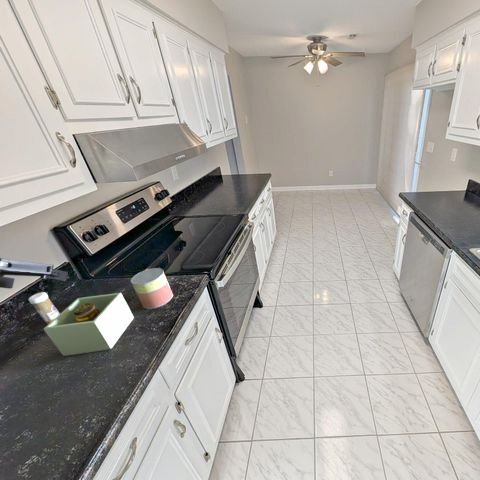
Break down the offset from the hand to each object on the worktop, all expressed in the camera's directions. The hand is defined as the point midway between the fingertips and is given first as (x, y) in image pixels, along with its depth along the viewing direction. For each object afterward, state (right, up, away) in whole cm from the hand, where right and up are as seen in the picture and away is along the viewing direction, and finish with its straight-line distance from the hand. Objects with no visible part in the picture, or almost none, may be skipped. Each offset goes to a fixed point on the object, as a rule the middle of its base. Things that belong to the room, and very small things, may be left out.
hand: (39, 280), depth 71 cm
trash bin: (+1, -22, +19) cm, 29 cm away
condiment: (+1, -21, +19) cm, 29 cm away
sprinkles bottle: (-22, -21, +26) cm, 40 cm away
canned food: (+11, -14, +35) cm, 39 cm away
